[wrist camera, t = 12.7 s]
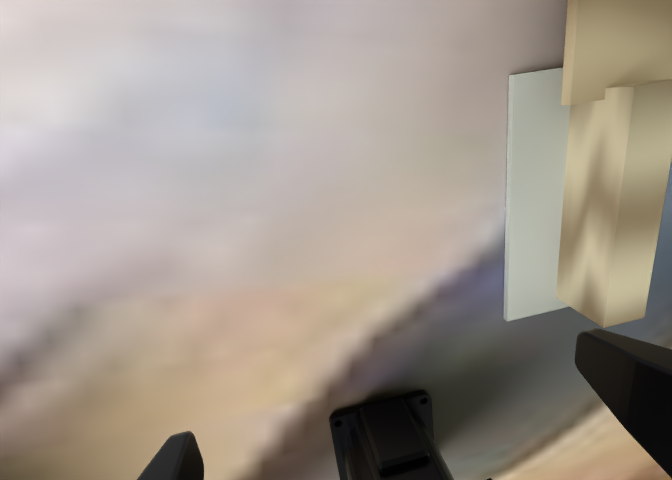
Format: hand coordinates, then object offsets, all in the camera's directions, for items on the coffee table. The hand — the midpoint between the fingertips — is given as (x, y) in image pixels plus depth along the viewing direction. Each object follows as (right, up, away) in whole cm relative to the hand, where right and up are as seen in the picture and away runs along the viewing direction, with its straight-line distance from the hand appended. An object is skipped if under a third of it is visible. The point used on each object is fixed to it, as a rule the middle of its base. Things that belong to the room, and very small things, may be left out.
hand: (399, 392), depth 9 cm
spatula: (+12, +9, +12) cm, 19 cm away
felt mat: (+12, +6, +13) cm, 19 cm away
